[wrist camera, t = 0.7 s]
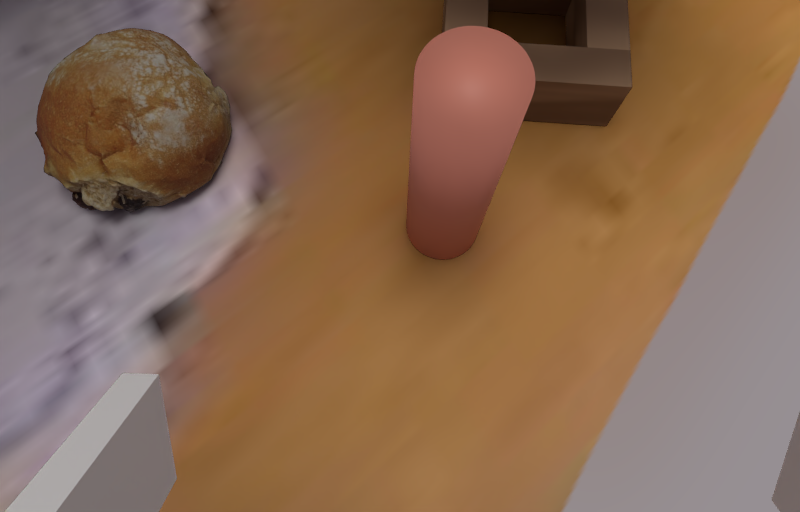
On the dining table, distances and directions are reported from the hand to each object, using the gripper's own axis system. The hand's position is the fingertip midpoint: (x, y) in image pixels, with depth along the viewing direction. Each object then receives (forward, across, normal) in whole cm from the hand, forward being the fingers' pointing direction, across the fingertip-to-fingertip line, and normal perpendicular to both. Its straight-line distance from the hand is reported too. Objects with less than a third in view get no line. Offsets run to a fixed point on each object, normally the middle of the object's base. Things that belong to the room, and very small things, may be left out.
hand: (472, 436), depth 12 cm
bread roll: (+24, -17, +1) cm, 29 cm away
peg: (+21, 0, -3) cm, 21 cm away
